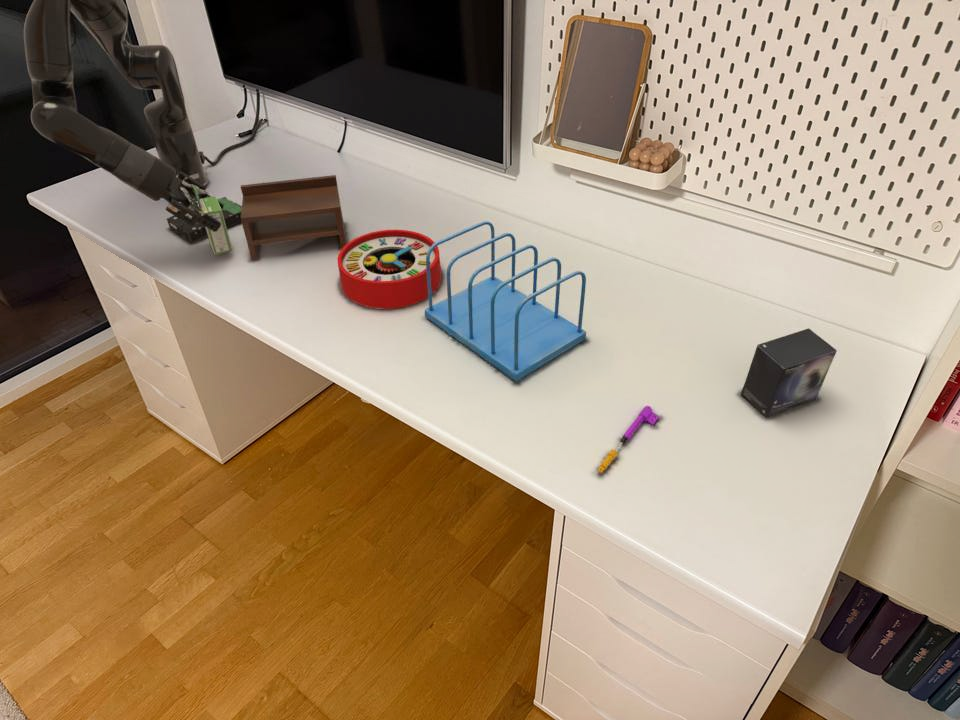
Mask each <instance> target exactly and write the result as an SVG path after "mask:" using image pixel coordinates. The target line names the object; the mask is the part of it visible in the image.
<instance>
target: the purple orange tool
mask: <svg viewBox="0 0 960 720" xmlns="http://www.w3.org/2000/svg"><path fill="white" fill-rule="evenodd" d="M659 418H660V416H659V415H657V414H656V413H654V410H653V409H652V407H651V406H650V405H646V406H644V407H643V408H642V410H641V411H640V412H639V414H638V415H637V417H636V419H635V420H634V421H633V422H632V423H631V425H630V426H629V427H628V429H627V430H626V431H625V433H624V434H623V435H622V437H621V438H620V443H619V445H618V446H617V447H616V449H611V450H609V452H608V453H607V455H606V457H605V458H604V460H603V461H602V462H601V463H600V464H599V468H598V469H597V471H598V472H599V473H600V474H602V473H604V471H606V470H607V468H608V467H609V466H610V464H611V463H612V462H613V461H614V460H615V459H616V458H617V457H618V454H619V453H618V450H619V448H621V446H622V445H625V444H626V443H627V442H628V441H629V440H630V439H631V437H632V436H633V435H634V433H635V432H636V431H637V429H638V428H639V427H640V426H641V424H642V423H643V422H644V423H645V422H647V423H649V424H650V425H652V426H654V425H655V424H656V422H657V421H658V420H659Z"/></svg>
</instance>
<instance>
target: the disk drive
mask: <svg viewBox="0 0 960 720" xmlns="http://www.w3.org/2000/svg"><path fill="white" fill-rule="evenodd" d="M217 200H218V201H220V202H221V203H223V204H224V207H223V209H222V213H223V217H224V220H225V224H226V228H227V229H228V228H231V227H233V226H235V225H238V224H240V223H242V222H241V210H242V205H241V204H239V203H238V202H234V201H232V200H231V199H229V198H227V196H223V197H219V198H217ZM198 207H199V205H198ZM194 212H196V211H195V210H194ZM196 213H197V212H196ZM186 217H187V218H189V217H188V216H186ZM189 219H190V218H189ZM166 222H167V225H168V227H169V228H170V229H171V230H172V231H174V233H177V234H178V235H179V236H181V237H182V238H184V239H185V240H187V241H188V242H190V243H193V242H194V243H195V242H197V241H200V240H203V239H204V238H207V237H208V234H207V231H206V228H205V226H204V225H202V224H200V223H198V224H197V223H196V224H195V225H194V226H191V225H189V224H188V223H186V222H184V221H183V220H181V219H179V218H178V217H176V216H174V215H172V216H169V217H167V218H166Z"/></svg>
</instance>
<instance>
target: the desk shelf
mask: <svg viewBox="0 0 960 720" xmlns="http://www.w3.org/2000/svg"><path fill="white" fill-rule="evenodd" d="M240 191H241V194H242V200H241V201H242V202H241V206H242V210H241V222H240V223H241V225H242V229H243V232H244V237H245V240H246V243H247V246H248V251H249V255H250V258H251V261H257V260H259V259H258V258H259V245H267V244H277V243H283V242H284V243H285V242H292V241H299V240H307V239H308V240H309V239H317V238H324V237H333V236H334V237H335V236H338V237H339V243H340V250H341V249H342V248H343V247H344V246H345V245H346V244H347V238H346V232H345V224H344V218H343V217H344V216H343V211H342V206H341V199H340V193H339V186H338V181H337V175H336V174H333V175H324V176H323V175H322V176H315V177H305V178H295V179H287V180H277V181H269V182H259V183H249V184H241V185H240Z"/></svg>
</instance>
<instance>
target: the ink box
mask: <svg viewBox="0 0 960 720" xmlns="http://www.w3.org/2000/svg"><path fill="white" fill-rule="evenodd" d="M192 186H193V184H192ZM193 188H194V186H193ZM194 192H195V194H196V198H197V201H198V202H197V201H196V202H197V203H198V206H199V208H200V209H201V210H202V211H203V212H204V214H205V213H206V214H207V215H209V216H211V217H212V218H214V219H216V220H217V221H219V222H220V223H221V226H220V228H219V229H218V230H217V231H216V232H214V231H212V230H211V229H209V228H207V227H205V228H206V231H207V234H208V236H207V237H208V241H209V244H210V247H211V250H212V252H213V255H214V256H217V255H220V254H226V253H231V252H233V246H232V243H231V239H230V236H229V231H228V228H226V224H225V220H224V217H223V213H222V210H221V207H220V205H219V203H218V200H217V199H218V198H217V196H216V195H212V196H211V197H207V198H202V199H199V197H198V195H197V192H196V190H195V188H194Z"/></svg>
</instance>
